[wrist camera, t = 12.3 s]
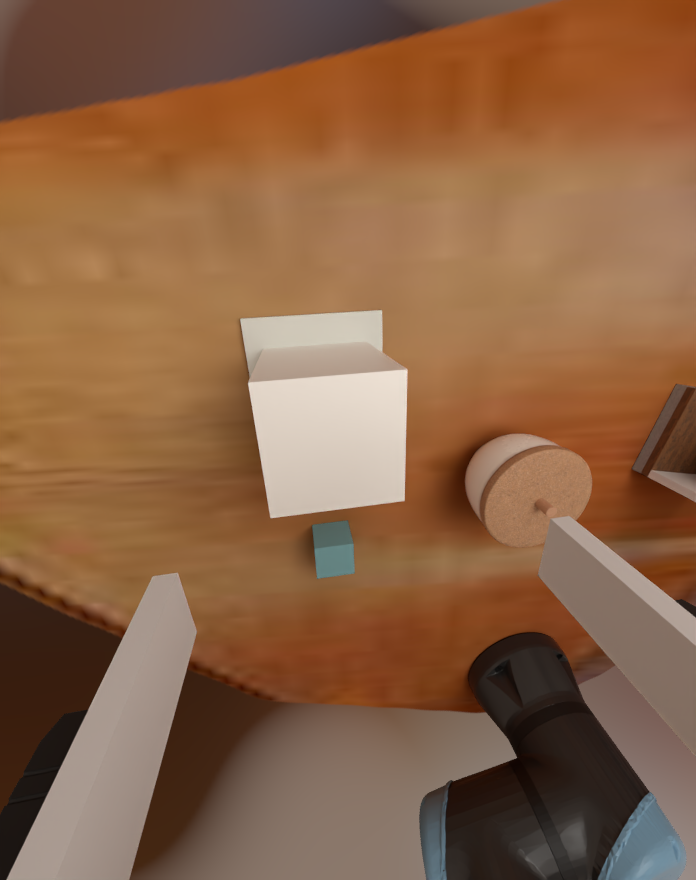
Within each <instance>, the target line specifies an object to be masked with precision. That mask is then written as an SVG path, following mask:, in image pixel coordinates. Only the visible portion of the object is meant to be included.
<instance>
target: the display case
mask: <svg viewBox="0 0 696 880" xmlns="http://www.w3.org/2000/svg"><path fill="white" fill-rule="evenodd" d="M632 469H633V470H635V471H637V472H639V473H641V474H643V475H645V476H647V477H649V478H650V479H652V480H654V481H656V482H658V483H660V484H662V485H664V486H666V487H668V488H670V489H671V490H673V491H675V492H677V493H679V494H681V495H683V496H685V497H687V498H689V499H691V500H692V501H694V502H696V387H692V386H686V385H680V384H676V386H675V388H674V389H673V391H672V393H671V395H670V397H669V399H668V401H667V403H666V405H665V407H664V408H663V410H662V412H661V414H660V416H659V418H658V420H657V422H656V424H655V426H654V428H653V429H652V431H651V433H650V435H649V437H648V439H647V441H646V443H645V445H644V447H643V448H642V450H641V452H640V454H639V456H638V458H637V460H636V462H635V464H634V466H633V467H632Z"/></svg>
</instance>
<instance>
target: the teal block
mask: <svg viewBox="0 0 696 880" xmlns="http://www.w3.org/2000/svg"><path fill="white" fill-rule="evenodd" d="M312 529H313V540H314V550H315V561H316V572H317V579H318V578H325V577H332V576H339V575H347V574H354V573H355V572H354V545H353V540H352V536H351V532H350V528H349V524H348V520H347V521H339V522H331V523H323V524H315V525H312Z"/></svg>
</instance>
